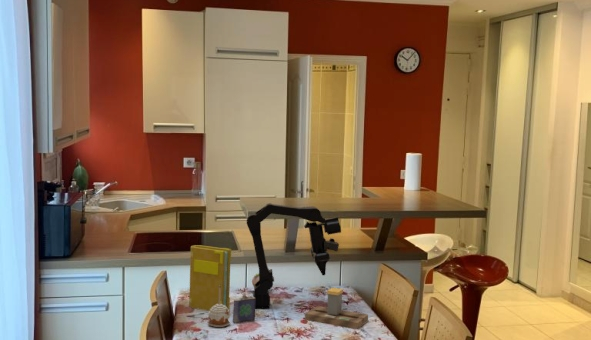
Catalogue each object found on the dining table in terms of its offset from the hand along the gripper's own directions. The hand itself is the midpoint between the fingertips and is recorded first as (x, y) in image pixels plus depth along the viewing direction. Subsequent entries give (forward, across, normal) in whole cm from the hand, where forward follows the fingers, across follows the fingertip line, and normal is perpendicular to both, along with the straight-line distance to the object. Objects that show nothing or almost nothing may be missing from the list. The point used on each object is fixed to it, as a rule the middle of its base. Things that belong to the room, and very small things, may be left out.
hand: (322, 272), depth 245 cm
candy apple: (+7, -24, +44) cm, 50 cm away
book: (+6, -3, +50) cm, 50 cm away
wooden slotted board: (+15, -17, -1) cm, 23 cm away
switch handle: (+14, -16, -1) cm, 22 cm away
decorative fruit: (+10, +22, +27) cm, 37 cm away
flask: (+9, -20, +35) cm, 41 cm away
